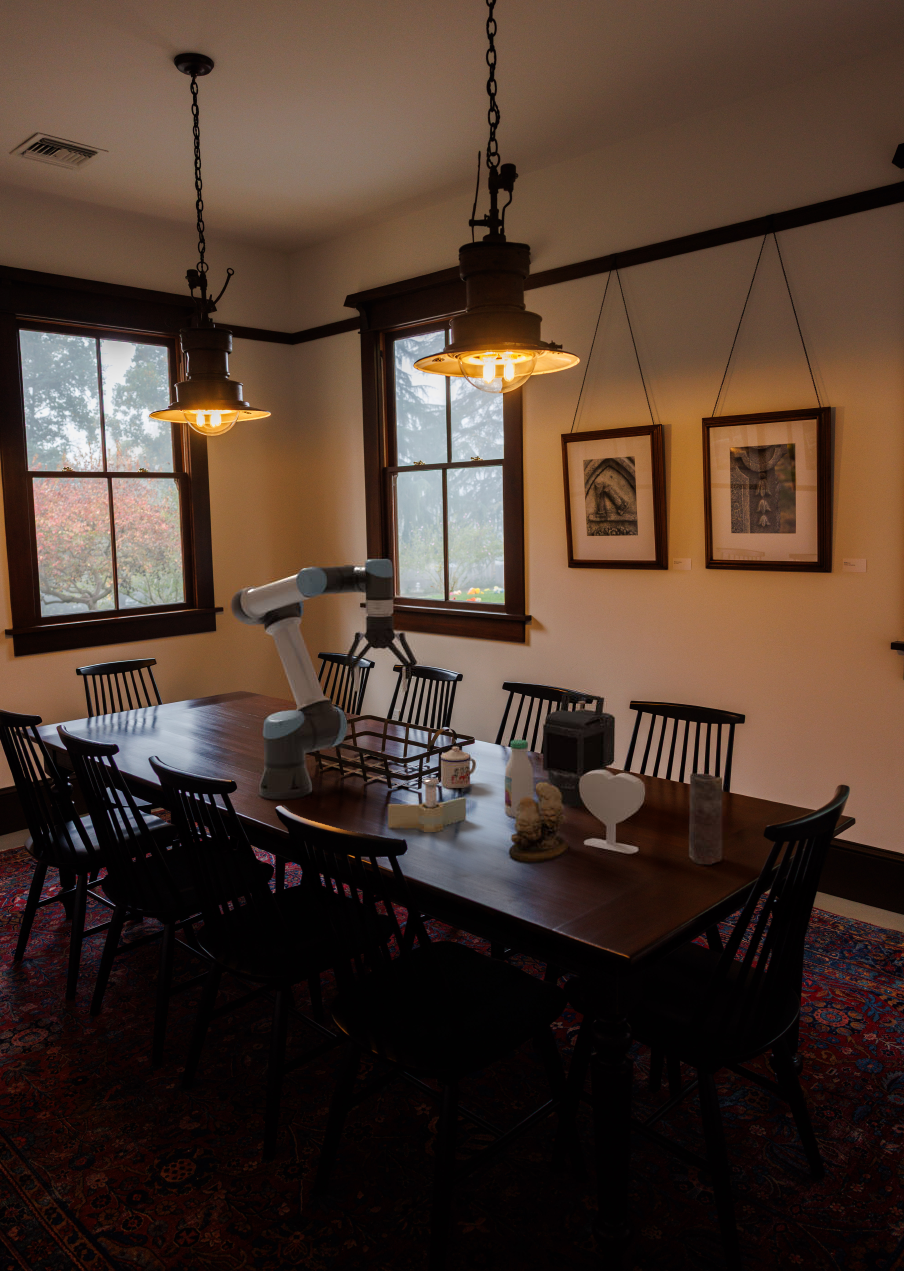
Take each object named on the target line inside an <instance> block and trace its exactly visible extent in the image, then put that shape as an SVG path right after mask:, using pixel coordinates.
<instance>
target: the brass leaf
mask: <svg viewBox="0 0 904 1271" xmlns="http://www.w3.org/2000/svg"><path fill="white" fill-rule="evenodd" d="M443 813H444V805H443V804H441V802H438V801H437V808H433V809H431V808H426V802H423V803H419V804H405V803H404V804H399V803H398V804H397V803H389V804H388V805H387V823H388V825H387V826H388V829H400V828H399V827H403V828H402V829H410V828H419V829H420V830H422V831H425V832H436V833H438V832H437V831H439V832H442V831H441V830H443V831H444V827H445V826H444V820H443V823H441V824H437V825H424V824H421V823H419V822H418V815H420V816H423V817H433V818H434V817H438V816H442V815H443ZM419 829H418V830H419ZM420 830H419V831H420ZM422 831H421V832H422ZM425 832H424V833H425Z"/></svg>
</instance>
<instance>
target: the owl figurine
mask: <svg viewBox="0 0 904 1271" xmlns="http://www.w3.org/2000/svg"><path fill="white" fill-rule="evenodd" d="M535 794H536V796H537V799H538V802H537V801H536V800H533V799H532V798H529V797H523V798H521V799H520V803H519V805H518V807H517V813H516V817H515V820H514V821H515V823H514V830H515V832H516V833H514V834H511V837H510V841H511V842H512V843H513V844H511V846H510V848H509V850H508V855H509V858H511V859H512V860H513V861H516V862H519V863H523V864H540V863H545V862H550V861H553V860H555V859H558V858H561V857H562V856H563V855H565V854H566V853H567V852H568V850H569V842H568V841H567V840H566V839H565V838H563V837H562V836H561V835H560V834H559V831H560V829H561V827H562V825H564V824H563V823H564V822H565V821H566V817H567V816H565V815H563V813H564V811H565V805H563V804H562V803H561V801H562V795H561V793H560V791H559V789H558V788H557V787H555V786H553V785H552V784H551V783H548V782H542V781H540V782H538V783H537V784H536V786H535Z"/></svg>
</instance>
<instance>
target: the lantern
mask: <svg viewBox="0 0 904 1271" xmlns="http://www.w3.org/2000/svg"><path fill="white" fill-rule="evenodd" d="M561 696H562V697H561V703H560V704H561V705H560V709H559V710H556V711H552V712H550V713H548V715H546V717H545V718H544V721H545V723H543V725H542V770H543V771H545V772H547V782H549V783H548V784H550V785H552V786H555V787H557V788H558V789H559V791H560V793H561V795H562V801H561V803H562V804H563V806H568V807H586V806H585V804H584V802H583V800H582V798H581V796H580V790H579V782H580V778H581V777H582V776H583V775H585V774H587V773H588V772H590V771H595V770H607V767H609V766H611V765H613V764H614V762H615V742H616V741H615V739H616V738H615V737H616V736H615V734H616V732H615V728H616V724H615V723H616V717H615V716H614V715H613V714H611V713H608V712H604V703H605V697H601V696H600V695H591V694H585V693H580V692H579V693H578V692H570V691H562V695H561ZM570 697H571V698H579V699H585V700H591V701H596V702H595V709H594V710H590V709H585V708H583V707H584V705H586V701H583V700H580V701H578V705H580V708H578V710H574V711H571V710H569V705H570V704H569V703H570Z"/></svg>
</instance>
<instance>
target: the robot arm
mask: <svg viewBox="0 0 904 1271" xmlns="http://www.w3.org/2000/svg"><path fill="white" fill-rule="evenodd" d="M393 576H394V573H393V563H392V561H391V560H390V559H389V558H384V559H382V558H372V559H371V558H369V559H366V560H365V563H364V565H353V564H349V565H347V564H346V565H340V566H338V565H337V566H324V567H323V566H310V567H306V568H305V567H304V568H302V569H301V570H299V572H298V573H296V574H294V575H292V576H289V577H285V578H282V579H280V580H277V581H273V582H272V583H271V582H270V583H268V584H265V585H262V586H249V587H246V588H245V587H244V588H242V589H240V590H238V591H236V593H235V594H234V595H233V596H232V599H231V602H230V609H231V612H232V615H233V616H234V617H235V619H236V620H238V621H239V622H240V623H242V624H245V625H249V626H256V625H257V626H259V625H263V628H264V630H265V634H267V635H270V636H272V638H273V641H274V643H275V646H276V650H277V653H278V655H279V658H280V660H281V661H280V662H281V663H282V666H283V669H284V672H285V675H286V678H287V681H288V684H289V687H290V688H291V691H292V694H293V697H294V700H295V704H296V705H297V706H296V709H290V710H286V711H285V710H283V711H282V710H281V711H278V712H275V713H272V714H270V715H269V716H266V718H265V719H264V722H263V731H262V736H263V746H264V747H263V749H264V750H263V751H264V754H263V755H264V770H263V773H262V775H261V776H262V777H261V779H260V783H259V795H260V797H262V798H264V799H268V800H269V799H270V800H281V801H282V800H292V799H299V798H303V797H305V796H307V795H310V794H311V793H312V791H313V787H312V786H313V785H312V780H311V778H310V775H309V772H308V770H307V766H306V754H307V753H313V752H316V751H320V750H325V749H330V748H332V747H336V746H338V745H340V744H341V743H342V742H343V741H344V739H345V737H346V734H347V731H348V720H347V716H346V714H345V713H344V711H343V710H342V709H341V708H340V707H338V706H334V704H333V702H332V700H331V698H329V697H326V696H325V695H324V693H323V690H322V686H321V684H320V681H319V678H318V676H317V673H316V670H315V667H314V666H313V662H312V659H311V657H310V654H309V651H308V648H307V645H306V642H305V640H304V637H303V635H302V632H301V629H300V625H301V623H302V617H303V614H304V611H305V610H304V609H303V608H304V606H305V604H304V601H306V600H310V599H311V598H316V597H319V596H324V595H333V594H335V595H336V594H347V593H348V594H351V593H363V594H365V614H366V617H365V620H366V621H365V627H366V629H365V630H366V632H361V631H357V632H355V634H354V641H353V643H352V644H351V647H350V649H349V651H348V653H347V655H346V657H345V660H344V662H343V665H345V666H348V667H349V668H350V678H351V680H352V679H354V691H355V692H358V691H359V690H360V687H361V686H360V666H357V665H358V664H359V663H360V661H362V659H363V658H364V657H365V656H366V654H367V653H368V652H369V651H370V650H371V649H372V648H373V649H374V650H375V649H383V650H385V649H387V648H388V649H389V650H390V651H391V652H392V653H393V654H394V656H395V657H396V658H397V660H399V662H400V663H401V664H402V665H403V668H401V669H402V672H401V673H402V692H403V693H404V692H406V691H408V680H410V679H411V675H412V674H411V667H415V666H416V665H417V664H418V661H417V659H416V656H415V655H414V653H413V651H412V649H411V647H410V645H409V643H408V641H407V640H406V633H405V631H401V632H396V633H395V631H394V616H393V615H392V614H393V613H394V596H393V595H394V594H393V593H394V592H393V591H394V590H393V589H394V588H393V587H394V586H393V585H394V582H393V581H394V579H393V578H394V577H393ZM364 638H365V640H366V642H367V643H366V645H365V646H364V648H363V649H362V650H361V651H360V652H359V653H358V655H356V657H355V659H354V660H353V657H354V655H355V653H356V651H357V648H359V644H360V642H361V641H363V639H364ZM395 639H397V641H398V642H400V645H401V647H402V649H403V650H404V652H405V655H406V657H407V658H408V659H407V658H406V657H405V656H404V654H403V653H402V651H401V650H399V648H398V647H397V646H396V644H395V643H394V642H393V641H394V640H395ZM352 660H353V661H352Z"/></svg>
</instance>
